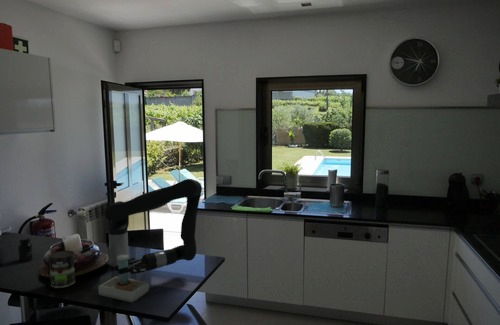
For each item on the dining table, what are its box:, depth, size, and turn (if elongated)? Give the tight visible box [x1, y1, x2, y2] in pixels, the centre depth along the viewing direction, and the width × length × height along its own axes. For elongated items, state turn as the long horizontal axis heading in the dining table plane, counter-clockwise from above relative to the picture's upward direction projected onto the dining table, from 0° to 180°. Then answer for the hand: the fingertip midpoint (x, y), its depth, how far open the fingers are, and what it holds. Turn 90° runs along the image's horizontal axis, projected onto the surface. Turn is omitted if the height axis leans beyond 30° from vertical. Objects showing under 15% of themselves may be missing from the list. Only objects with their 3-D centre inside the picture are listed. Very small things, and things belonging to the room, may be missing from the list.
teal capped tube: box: [117, 254, 130, 285], centre depth 157 cm, size 5×5×12 cm
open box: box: [98, 275, 150, 303], centre depth 158 cm, size 18×11×4 cm, turn 68°
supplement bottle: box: [17, 237, 34, 263], centre depth 195 cm, size 7×7×12 cm
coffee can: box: [48, 250, 76, 289], centre depth 167 cm, size 10×10×14 cm
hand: (117, 270), depth 155 cm, fingers closed on teal capped tube, 4 cm apart
